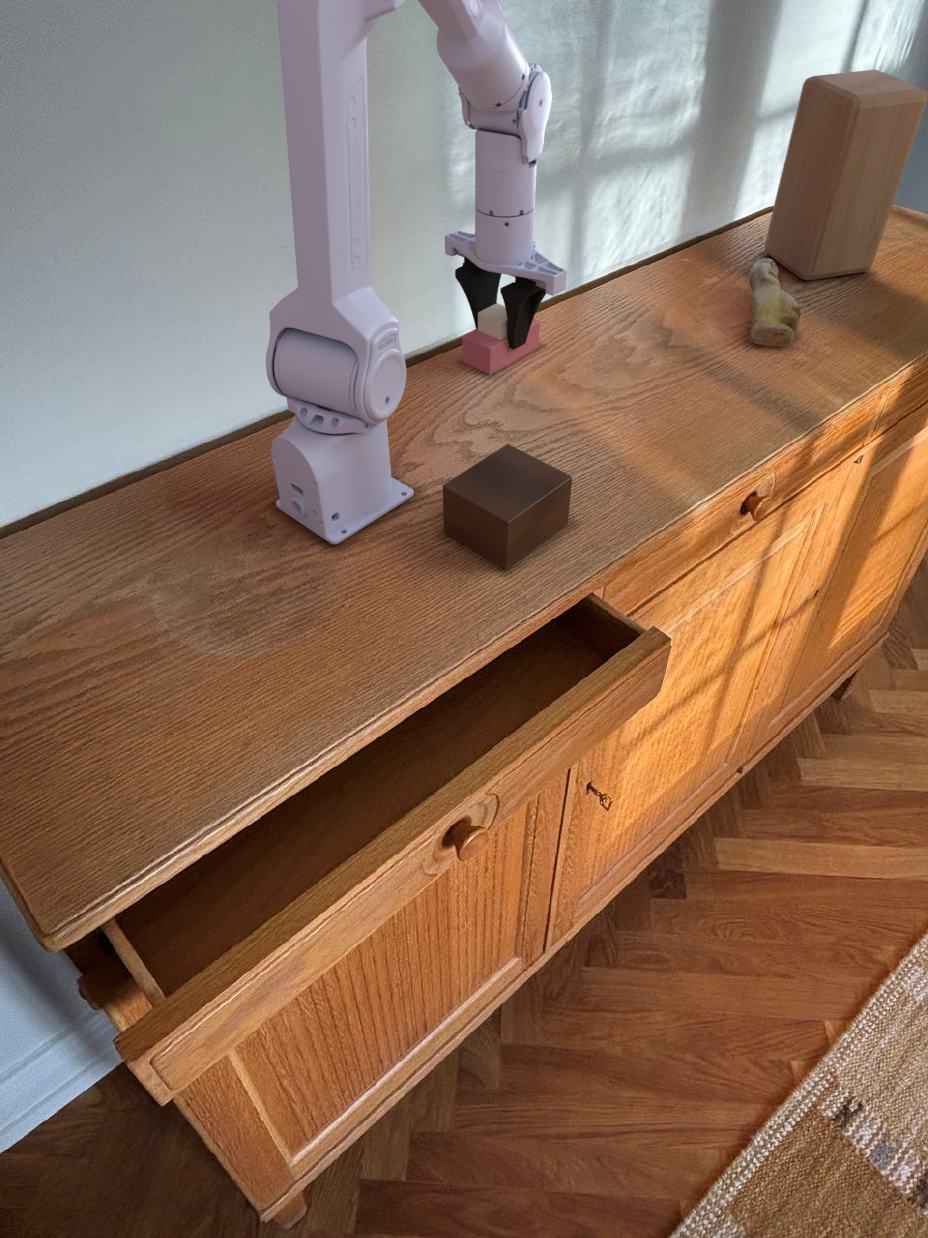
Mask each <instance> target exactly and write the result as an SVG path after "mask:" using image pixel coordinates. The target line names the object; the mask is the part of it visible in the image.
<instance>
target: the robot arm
mask: <svg viewBox="0 0 928 1238" xmlns="http://www.w3.org/2000/svg"><path fill="white" fill-rule="evenodd" d="M406 1H407V0H276V5H277V7H276V8H277V22H278V35H279V36H278V37H279V48H280V62H281V63H280V64H281V74H282V75H281V77H282V90H283V91H282V92H283V102H284V104H283V105H284V117H285V118H284V119H285V128H286V144H287V159H288V171H289V182H290V183H289V185H290V198H291V199H290V200H291V211H292V212H291V213H292V225H293V226H292V227H293V239H294V240H293V241H294V253H295V254H294V255H295V266H296V276H297V277H296V280H297V288H295V289H294V290H292V291H291V292H290V293H287V295H286V296H284V297H283V298H282V299H280V300H279V302H277V303H276V305H274V307H273V308H272V309H271V310H270V311H269V315H268V316H269V330H270V331H269V332H270V333H269V340H268V345H267V349H266V353H265V370H266V376H267V381H268V383H269V385H270V387H271V388H272V390H273V391H274V392H275V393H277V394H278V395H279V396H281V397H285V398H286V404H287V408H288V409H287V410H288V411H289V412H292V413H293V414H295V415H294V417H293V419H292V420H291V422H290V423H289V425H288V426H287V427H286V428H285V429H284V430H283V431H282V432H281V433H280V434H278V435H277V436H276V437H275V438H274V439H273V440H272V442H271V444H270V457H271V461H272V467H273V472H274V476H275V483H276V487H277V492H278V497H279V499H277V500H276V502H275V506H276V508H277V509H279V510H280V511H282V512H283V513H285V514H286V515H288V516H289V517H291V518H292V519H294V520H295V521H296V522H298V523H299V524H301V525H303V526H304V527H305V528H307V529H308V530H310V531H311V532H313V533H314V534H316V535H317V536H319V537H321V538H322V539H323V540H324V541H326V542H328V543H329V544H331V545H338V544H341V542H344V541H345V540H347V539H348V538H350V537H352V536H353V535H354V534H356V533H358V532H359V531H360V530H362V529H364V528H365V527H366V526H368V525H370V524H371V523H373V522H374V521H377V520H378V519H379V518H381V517H383V516H384V515H386V514H388V513H389V512H390V511H392V510H393V509H396V508H397V507H398V506H400V505H401V504H403V503H405V502H406V501H408V500H410V499H411V498H413V497H414V495H415V491H414V489H413V488H412V487H409V486H408V485H406V484H404V483H403V482H401V481H400V480H398V479H396V478H394V477H393V476H392V466H391V456H390V455H391V454H390V443H389V431H388V419H389V417H390V416H392V414H393V413H394V412H395V411H396V409H397V408H398V406H399V404H401V403H400V402H401V400H402V399H403V396H404V393H405V389H406V383H407V365H406V360H405V356H404V353H403V351H402V347H401V343H400V333H399V332H400V329H399V327H400V324H399V321H398V319H397V317H395V315H394V314H393V312H391V310H390V309H389V307H388V306H387V305H385V303H384V301H382V300H381V298H380V297H379V296H378V295H377V293H376V292H375V291H374V289H373V287H372V261H371V260H372V257H371V255H372V254H371V211H370V210H371V209H370V202H371V201H370V159H369V156H370V155H369V112H368V111H369V108H368V102H369V101H368V57H367V56H368V55H367V41H368V36H369V34H370V33H371V31H372V30H373V28H374V27H375V26H376V24H377V22H378V21H379V20H380V18H381V17H382V16H384V15H387V14H389V13H393V12H395V11H397V10H398V9H399V8H400V7H401V6H402V5H403V4H404V3H405V2H406ZM417 2H418V3H419V5H420V6H421V7H422V8H423V9H424V11H425V12H426V13H427V16H429V17H430V19H431V20H432V21H433V23H434V24H435V25H436V27H437V33H436V50H437V53H438V56H439V58H440V60H441V61H442V63H443V64H444V66H445V67H446V69H447V70H448V72H449V74H450V75H451V77H452V78H453V80H454V81H455V83H456V85H457V90H458V96H459V98H460V101H461V113H462V120H463V123H464V125H465V127H466V126H467V128H469V129H471V130H475V133H474V233H470V232H466V231H462V230H459V231H457V233H458V234H457V233H456V232H454V231H452V232H453V233H452V232H450V233H448V234H445V235H444V254H445V255H447V256H449V257H455V256H459V257H462V258H463V262H462V265H461V266H459V267H457V268H455V270H454V277H455V280H456V281H457V282H458V284H459V286H460V287H461V289H462V291H463V293H464V295H465V298H466V300H467V302H468V305H469V309H470V311H471V316H472V319H473V323H474V326H475V329H477V328H478V312H480V311H482V310H484V309H486V308H488V307H490V306H492V305H494V304H496V303H498V292H499V291H500V295H501V297H502V300H503V303H504V306H505V308H506V314H507V339H508V344H509V348H511V349H513V350H514V349H516V348H518V347H520V346H522V345H524V344H525V343H526V340H527V336H528V333H529V330H530V326H531V324H532V321H533V319H535V316H536V313H537V311H538V309H539V307H540V305H541V303H542V301H543V300H544V298H545V296H546V295H549V296H552V297H554V296H555V295H557V294H560V293H562V292H563V291H565V290H566V288H567V287H566V286H567V277H568V276H567V275H568V270H567V269H565V268H563V267H560V266H558V265H557V264H555V263H553V262H552V261H551V260H549V259H548V258H547V257H546V256H544V255H543V254H541V253H540V252H538V251H537V250H536V242H535V241H534V230H535V209H536V208H535V207H536V189H537V168H538V167H537V165H538V157H539V156H540V155H541V154H542V153H543V147H544V144H545V132H546V127H547V123H548V121H549V117H550V112H551V108H552V100H553V93H552V85H551V80H550V77H549V75H548V73H547V72H545V71H543V69H542V67H541V66H540V65H539V64H538V63H534V62H533V63H532V62H528V60H527V58H526V55H525V54H524V52H523V50H522V48H521V46H520V44H519V42H518V40H517V38H516V36H515V33H514V32H513V30H512V28H511V25H510V24H509V22H508V20H507V18H506V16H505V14H504V12H503V10H502V7H501V5H500V3H499V0H417ZM502 275H507V276H510V277H513V278H514V281H512V282H510V283H507V284H506V285H504V286H502V287H501V288H499V287H500V283H501V282H500V281H501V277H502ZM499 289H500V290H499Z"/></svg>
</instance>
